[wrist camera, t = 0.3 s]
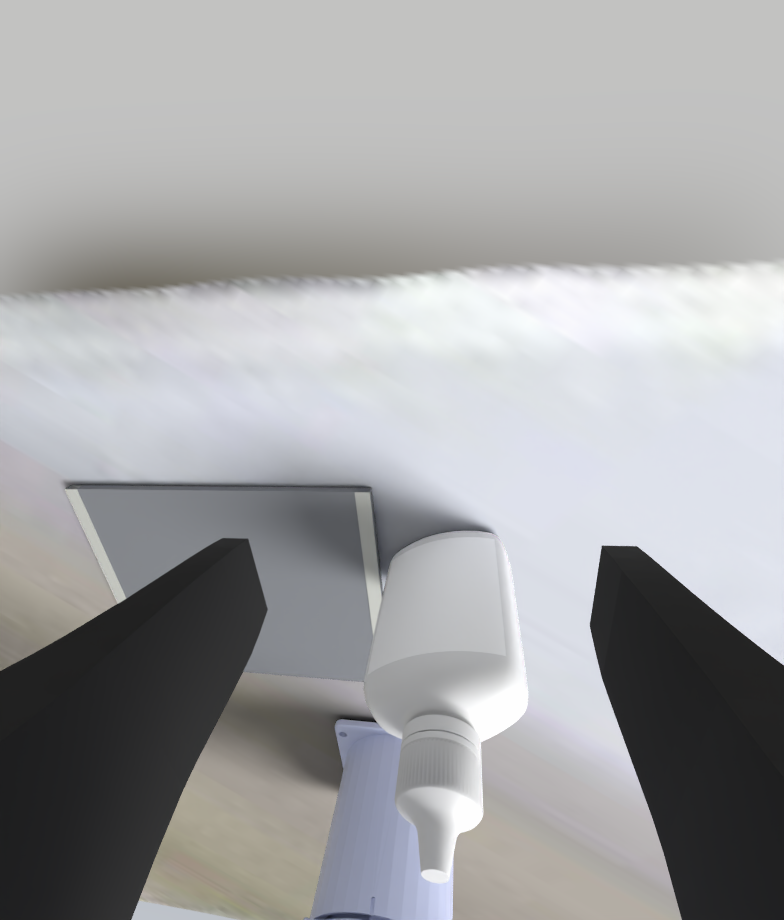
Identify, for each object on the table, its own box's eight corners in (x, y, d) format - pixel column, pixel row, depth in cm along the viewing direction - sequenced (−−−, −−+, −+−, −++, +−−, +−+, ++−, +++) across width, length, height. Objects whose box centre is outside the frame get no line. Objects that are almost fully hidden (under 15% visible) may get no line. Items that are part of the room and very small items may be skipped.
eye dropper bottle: (399, 511, 20) (329, 803, 10) (518, 534, 20) (580, 865, 9) (387, 580, 22) (318, 885, 12) (495, 603, 22) (525, 939, 11)
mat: (392, 678, 26) (391, 685, 25) (150, 658, 28) (146, 664, 28) (371, 487, 20) (369, 492, 20) (71, 485, 23) (64, 489, 22)
